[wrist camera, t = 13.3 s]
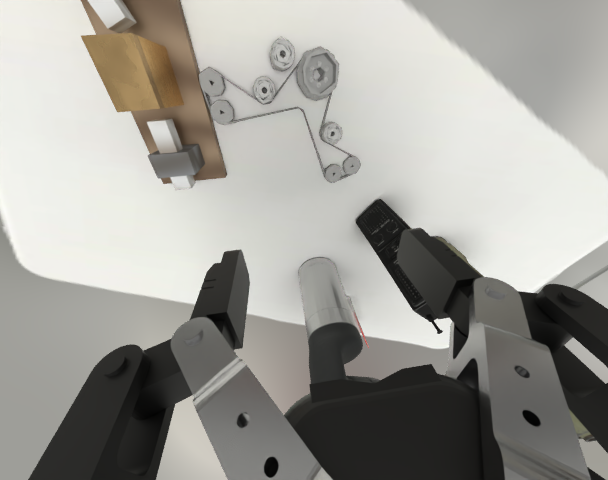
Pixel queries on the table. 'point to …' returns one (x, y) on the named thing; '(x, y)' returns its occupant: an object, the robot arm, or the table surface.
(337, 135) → the pulley system
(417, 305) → the portable radio
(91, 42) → the tan rectangular block
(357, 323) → the ink cartridge box
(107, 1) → the shaft mount
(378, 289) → the table surface
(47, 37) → the table surface
